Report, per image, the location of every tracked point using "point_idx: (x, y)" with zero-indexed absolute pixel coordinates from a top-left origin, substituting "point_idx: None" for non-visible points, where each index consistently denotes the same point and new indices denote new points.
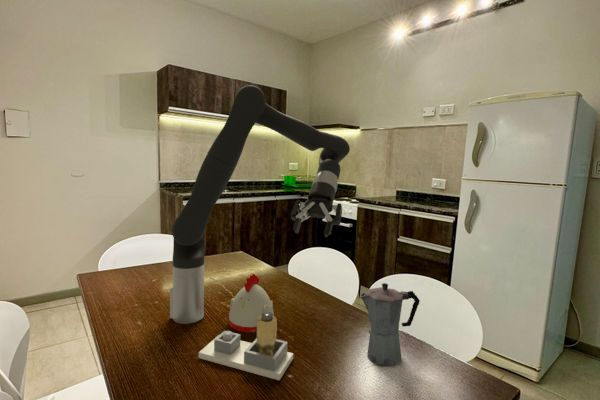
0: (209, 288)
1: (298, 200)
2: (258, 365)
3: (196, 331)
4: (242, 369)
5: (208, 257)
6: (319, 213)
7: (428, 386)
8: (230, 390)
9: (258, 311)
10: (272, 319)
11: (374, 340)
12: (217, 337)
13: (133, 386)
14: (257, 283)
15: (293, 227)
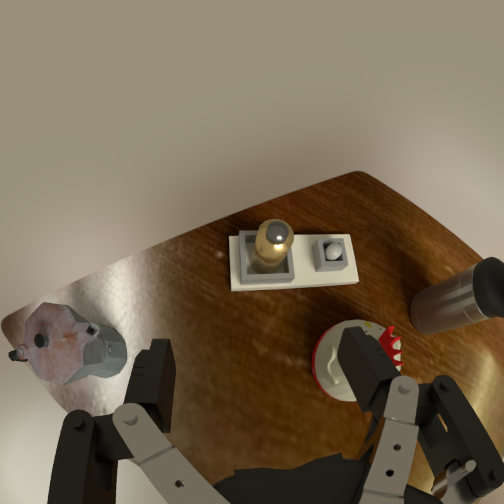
0: None
1: (497, 481)
2: None
3: (393, 287)
4: None
5: None
6: (248, 476)
7: (57, 303)
8: (273, 204)
9: (337, 338)
10: (265, 235)
11: (103, 329)
12: (343, 244)
13: (358, 180)
14: None
15: (372, 338)
